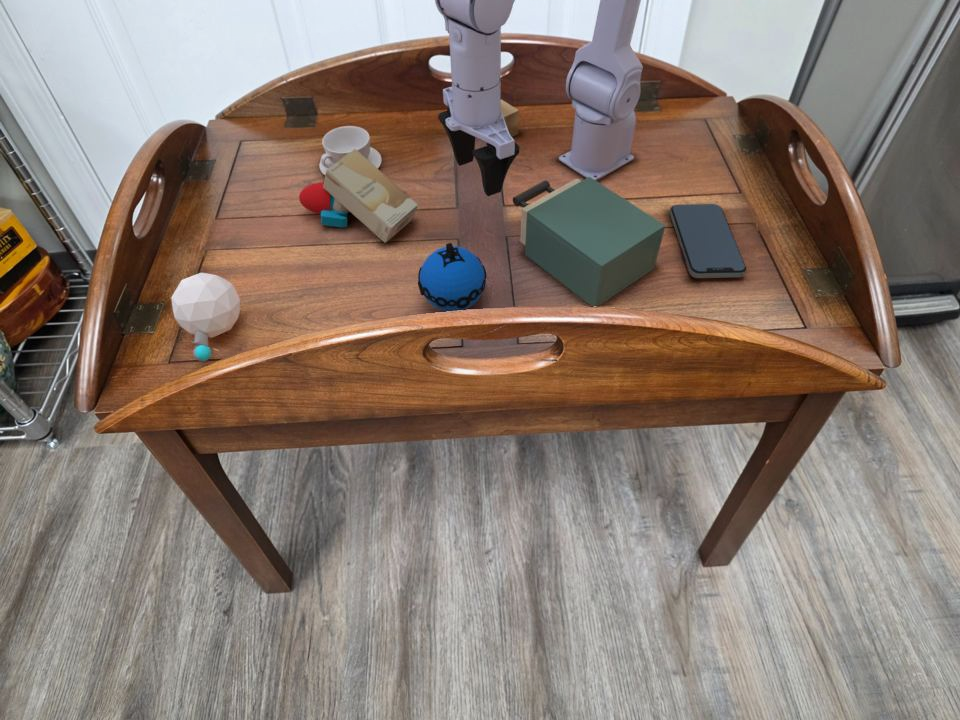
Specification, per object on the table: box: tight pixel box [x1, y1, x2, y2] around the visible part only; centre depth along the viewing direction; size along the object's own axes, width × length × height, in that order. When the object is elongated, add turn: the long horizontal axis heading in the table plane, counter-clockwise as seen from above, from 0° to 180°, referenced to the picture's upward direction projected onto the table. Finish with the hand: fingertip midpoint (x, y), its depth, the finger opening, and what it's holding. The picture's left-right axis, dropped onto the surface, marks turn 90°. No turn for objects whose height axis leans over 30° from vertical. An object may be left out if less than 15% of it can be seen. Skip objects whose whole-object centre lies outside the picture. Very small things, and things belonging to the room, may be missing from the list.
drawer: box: [512, 177, 582, 246], centre depth 89 cm, size 17×10×6 cm, turn 39°
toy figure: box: [298, 181, 351, 228], centre depth 96 cm, size 8×5×15 cm
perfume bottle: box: [170, 272, 241, 362], centre depth 80 cm, size 8×8×12 cm
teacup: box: [318, 125, 382, 176], centre depth 103 cm, size 10×10×5 cm
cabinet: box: [524, 177, 666, 307], centre depth 87 cm, size 14×12×8 cm
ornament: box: [417, 242, 487, 312], centre depth 81 cm, size 9×9×10 cm
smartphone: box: [669, 203, 747, 279], centre depth 91 cm, size 8×2×15 cm
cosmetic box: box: [323, 149, 419, 244], centre depth 92 cm, size 6×4×12 cm
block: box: [501, 99, 520, 138], centre depth 108 cm, size 4×4×4 cm
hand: (478, 177), depth 86 cm, fingers open, 7 cm apart
